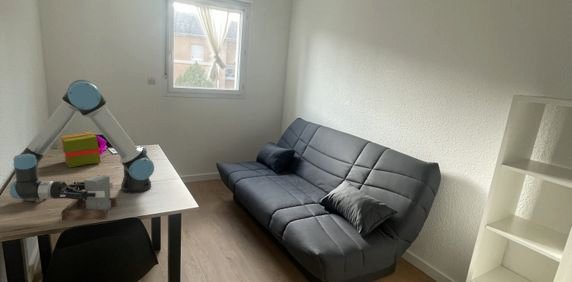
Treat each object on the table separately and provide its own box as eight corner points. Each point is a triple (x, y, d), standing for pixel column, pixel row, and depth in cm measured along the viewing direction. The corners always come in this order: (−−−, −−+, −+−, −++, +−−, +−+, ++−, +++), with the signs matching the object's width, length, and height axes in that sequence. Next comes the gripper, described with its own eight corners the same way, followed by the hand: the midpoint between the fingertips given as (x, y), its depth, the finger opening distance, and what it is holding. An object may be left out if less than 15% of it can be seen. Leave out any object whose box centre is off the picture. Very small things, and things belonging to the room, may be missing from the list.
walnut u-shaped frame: (62, 220, 139) (61, 211, 138) (77, 206, 153) (76, 198, 152) (106, 219, 142) (105, 210, 141) (116, 205, 156) (116, 197, 155)
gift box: (69, 173, 203) (112, 164, 218) (63, 143, 194) (109, 136, 210) (63, 159, 216) (104, 152, 232) (58, 131, 208) (101, 125, 224)
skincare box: (98, 215, 142) (96, 182, 138) (84, 212, 144) (82, 179, 140) (112, 207, 150) (111, 176, 146) (99, 204, 152) (97, 173, 148)
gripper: (66, 188, 153) (117, 188, 157) (40, 208, 132) (99, 207, 136) (65, 173, 151) (116, 173, 155) (38, 191, 130) (98, 191, 134)
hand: (108, 189), depth 145 cm, fingers closed on skincare box, 10 cm apart
